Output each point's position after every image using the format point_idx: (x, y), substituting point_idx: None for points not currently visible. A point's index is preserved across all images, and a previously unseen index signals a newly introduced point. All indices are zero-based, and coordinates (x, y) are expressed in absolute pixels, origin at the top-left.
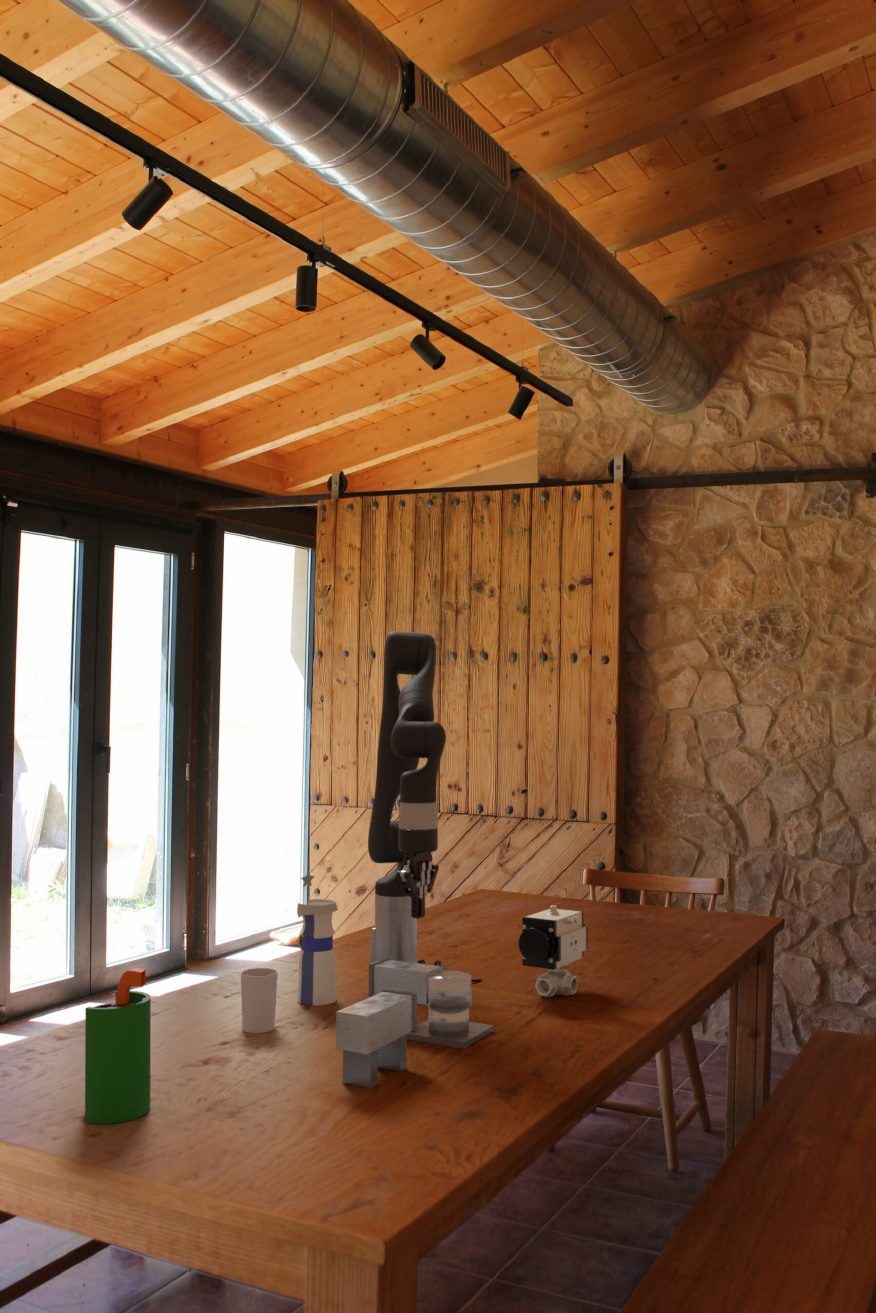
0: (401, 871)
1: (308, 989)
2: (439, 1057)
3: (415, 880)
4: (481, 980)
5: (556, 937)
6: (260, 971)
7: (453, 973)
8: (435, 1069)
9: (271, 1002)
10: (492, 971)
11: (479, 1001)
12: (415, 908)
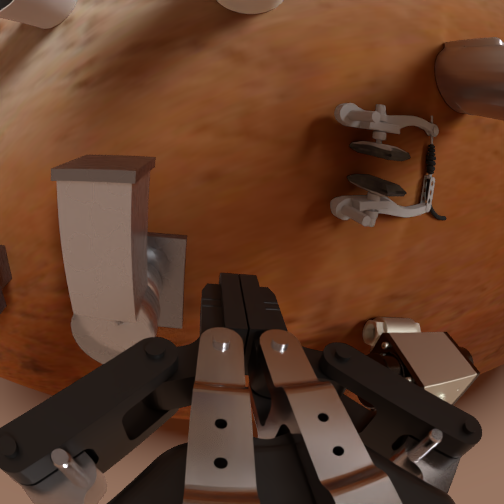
0: (15, 480)
1: None
2: (54, 297)
3: (281, 421)
4: (441, 219)
5: (373, 409)
6: None
7: (131, 340)
8: (27, 305)
9: (23, 21)
10: (477, 219)
11: (334, 256)
12: (200, 322)
